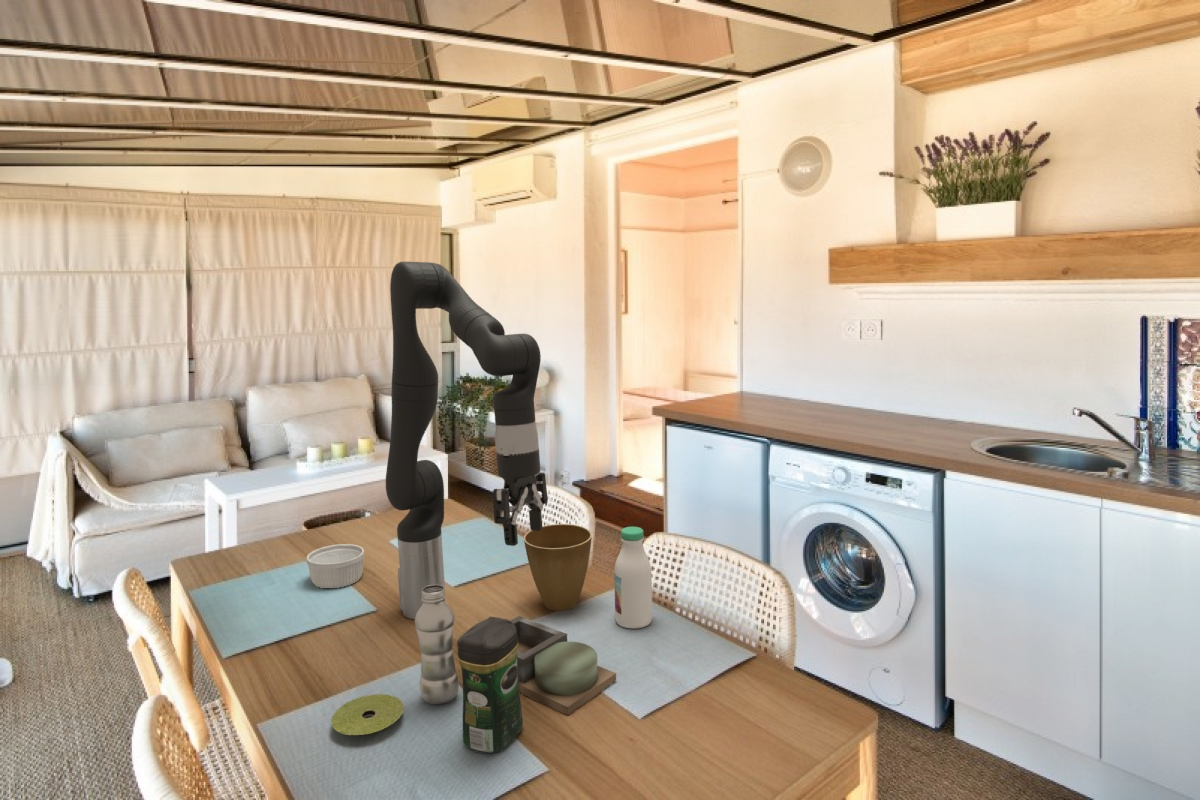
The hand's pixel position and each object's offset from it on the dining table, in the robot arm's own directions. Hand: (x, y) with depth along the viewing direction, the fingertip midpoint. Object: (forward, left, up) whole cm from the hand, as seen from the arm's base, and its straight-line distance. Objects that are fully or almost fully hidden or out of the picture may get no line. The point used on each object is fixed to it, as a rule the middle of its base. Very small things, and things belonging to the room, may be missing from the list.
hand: (524, 537), depth 128 cm
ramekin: (-67, +2, -26) cm, 72 cm away
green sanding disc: (-10, -28, -26) cm, 39 cm away
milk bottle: (+4, +27, -26) cm, 38 cm away
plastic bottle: (-6, -16, -26) cm, 31 cm away
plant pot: (-14, +24, -26) cm, 38 cm away
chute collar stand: (+3, 0, -26) cm, 26 cm away
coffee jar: (+9, -18, -26) cm, 33 cm away
